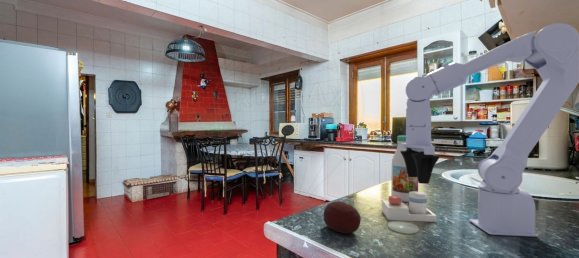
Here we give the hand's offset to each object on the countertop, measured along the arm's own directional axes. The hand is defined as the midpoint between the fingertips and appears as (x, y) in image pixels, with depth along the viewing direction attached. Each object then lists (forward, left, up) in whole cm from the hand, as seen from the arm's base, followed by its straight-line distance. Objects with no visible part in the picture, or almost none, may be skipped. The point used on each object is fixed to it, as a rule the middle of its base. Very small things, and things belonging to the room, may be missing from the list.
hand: (417, 179), depth 66 cm
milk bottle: (-2, -16, -10) cm, 19 cm away
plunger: (+6, 0, -8) cm, 10 cm away
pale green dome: (+6, +8, -9) cm, 14 cm away
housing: (+2, 0, -9) cm, 10 cm away
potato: (+20, +11, -10) cm, 25 cm away
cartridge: (0, 0, -9) cm, 9 cm away
